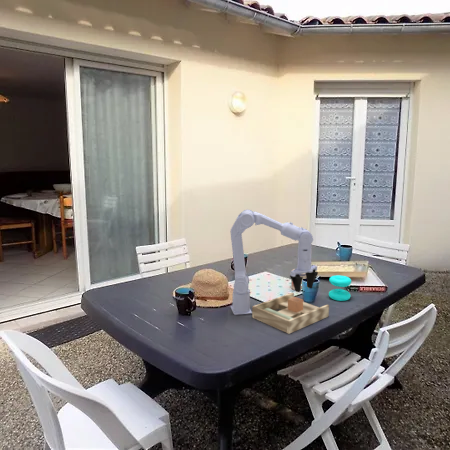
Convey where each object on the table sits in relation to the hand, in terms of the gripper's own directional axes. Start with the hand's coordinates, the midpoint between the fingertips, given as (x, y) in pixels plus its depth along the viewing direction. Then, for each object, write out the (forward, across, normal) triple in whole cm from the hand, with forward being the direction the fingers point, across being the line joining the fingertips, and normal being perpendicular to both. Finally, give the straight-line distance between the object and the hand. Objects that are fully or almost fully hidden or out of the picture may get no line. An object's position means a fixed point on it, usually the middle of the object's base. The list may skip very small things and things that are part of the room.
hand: (303, 289), depth 165 cm
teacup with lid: (+11, +23, +21) cm, 33 cm away
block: (+8, -4, 0) cm, 9 cm away
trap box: (+10, -7, 0) cm, 13 cm away
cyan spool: (+11, +27, +2) cm, 29 cm away
